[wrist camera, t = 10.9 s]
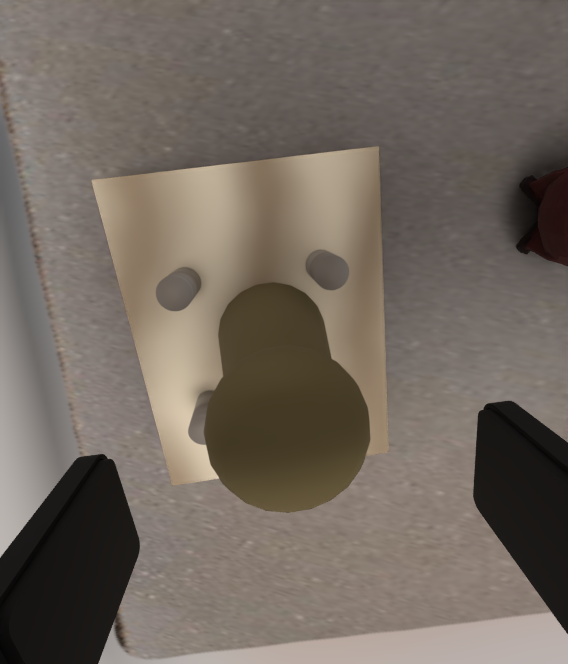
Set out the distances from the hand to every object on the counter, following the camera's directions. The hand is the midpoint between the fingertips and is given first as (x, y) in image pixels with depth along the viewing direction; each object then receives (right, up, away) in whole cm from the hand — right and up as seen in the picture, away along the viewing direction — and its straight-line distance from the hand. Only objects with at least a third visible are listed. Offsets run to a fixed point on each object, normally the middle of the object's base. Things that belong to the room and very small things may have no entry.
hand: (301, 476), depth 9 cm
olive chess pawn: (-1, +4, +11) cm, 12 cm away
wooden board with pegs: (-2, +5, +15) cm, 16 cm away
